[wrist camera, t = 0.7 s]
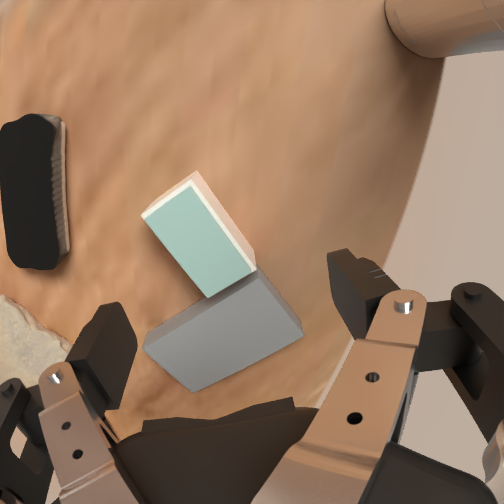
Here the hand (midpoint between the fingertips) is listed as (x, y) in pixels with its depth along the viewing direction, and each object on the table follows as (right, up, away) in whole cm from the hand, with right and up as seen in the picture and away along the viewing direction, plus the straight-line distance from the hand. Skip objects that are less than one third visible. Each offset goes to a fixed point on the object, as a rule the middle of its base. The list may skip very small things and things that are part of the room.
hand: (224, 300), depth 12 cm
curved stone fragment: (-35, -14, +27) cm, 47 cm away
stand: (-3, -7, +25) cm, 26 cm away
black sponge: (-22, +9, +18) cm, 30 cm away
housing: (-4, +4, +20) cm, 21 cm away
